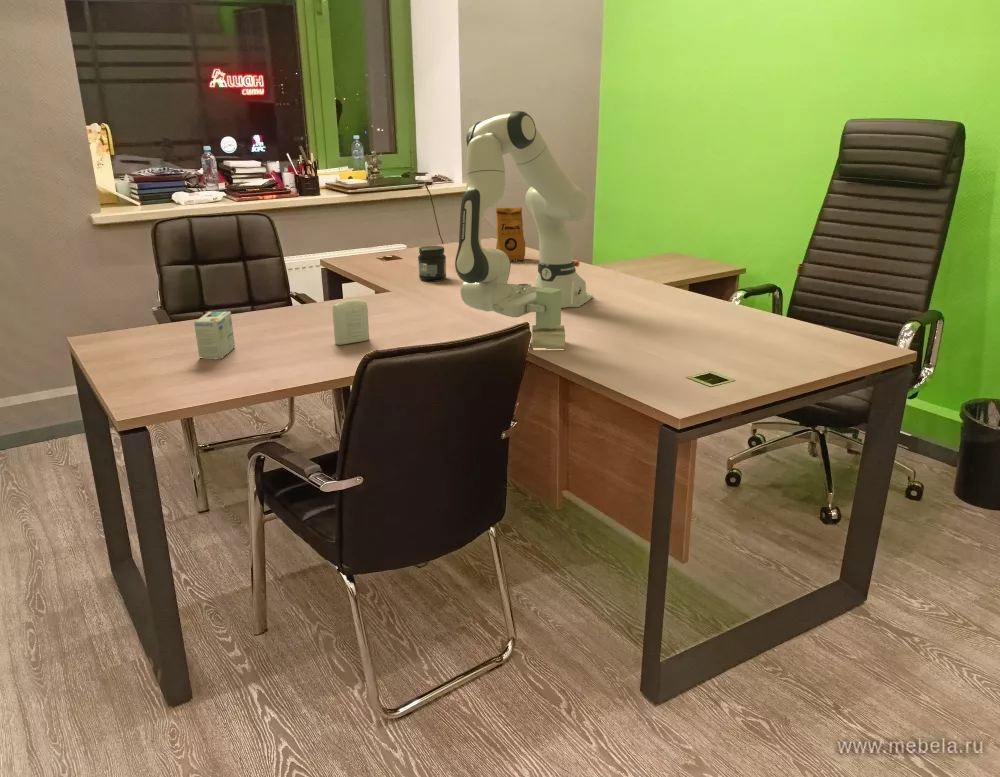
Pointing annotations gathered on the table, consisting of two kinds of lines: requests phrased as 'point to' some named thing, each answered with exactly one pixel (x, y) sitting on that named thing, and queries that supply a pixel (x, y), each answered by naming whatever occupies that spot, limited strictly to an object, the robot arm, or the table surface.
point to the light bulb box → (214, 334)
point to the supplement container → (432, 263)
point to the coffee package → (510, 232)
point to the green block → (549, 307)
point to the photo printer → (350, 321)
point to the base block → (548, 337)
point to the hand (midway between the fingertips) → (551, 306)
